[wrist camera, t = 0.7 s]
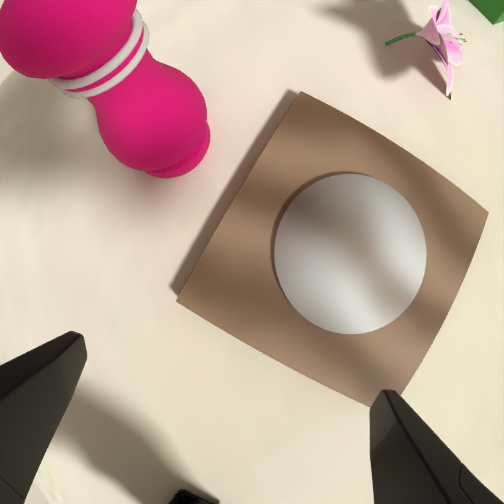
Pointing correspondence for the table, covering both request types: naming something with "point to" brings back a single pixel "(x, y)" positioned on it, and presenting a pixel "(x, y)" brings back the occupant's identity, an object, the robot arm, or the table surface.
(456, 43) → the lily
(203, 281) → the brown flat square slab
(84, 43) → the pepper mill
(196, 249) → the table surface
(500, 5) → the hardback book
